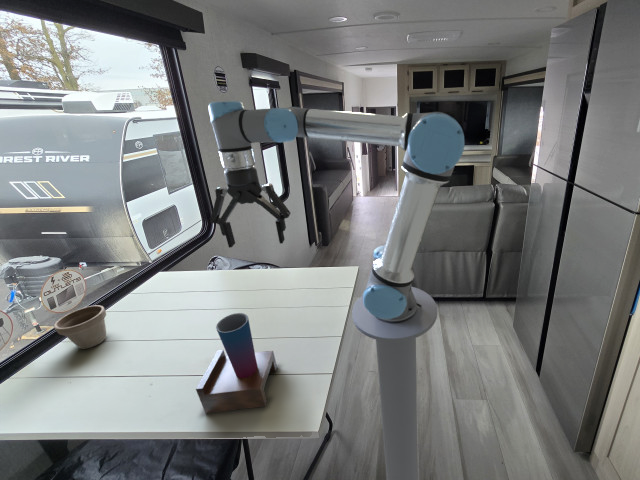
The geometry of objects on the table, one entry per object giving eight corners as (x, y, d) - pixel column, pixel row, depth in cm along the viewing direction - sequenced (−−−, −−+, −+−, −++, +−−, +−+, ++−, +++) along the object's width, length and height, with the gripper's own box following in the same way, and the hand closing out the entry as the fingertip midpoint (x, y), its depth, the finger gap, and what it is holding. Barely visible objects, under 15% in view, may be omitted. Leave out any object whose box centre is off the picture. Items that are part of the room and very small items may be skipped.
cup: (263, 373, 76) (250, 324, 70) (233, 386, 73) (217, 336, 67) (258, 355, 82) (245, 309, 76) (230, 367, 78) (214, 319, 73)
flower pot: (72, 339, 99) (57, 314, 95) (117, 324, 105) (105, 300, 102) (65, 361, 91) (49, 334, 87) (114, 343, 97) (101, 317, 93)
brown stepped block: (277, 367, 86) (271, 344, 82) (265, 406, 75) (258, 382, 71) (225, 372, 84) (217, 350, 81) (205, 413, 73) (195, 389, 70)
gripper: (180, 173, 73) (204, 253, 81) (287, 167, 75) (300, 245, 83) (195, 167, 80) (216, 241, 88) (292, 161, 82) (304, 234, 90)
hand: (257, 243), depth 86 cm, fingers open, 13 cm apart
